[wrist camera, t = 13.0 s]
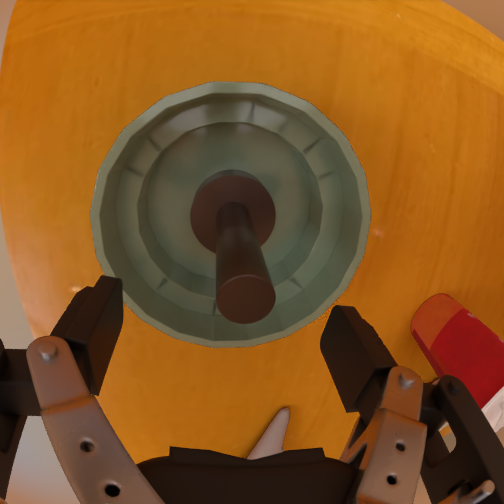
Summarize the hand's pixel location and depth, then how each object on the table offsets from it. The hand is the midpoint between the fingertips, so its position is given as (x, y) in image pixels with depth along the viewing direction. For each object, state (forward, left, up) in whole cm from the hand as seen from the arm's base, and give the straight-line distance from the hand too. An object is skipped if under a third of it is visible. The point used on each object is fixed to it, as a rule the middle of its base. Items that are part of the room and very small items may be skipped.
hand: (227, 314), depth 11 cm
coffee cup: (+21, +12, -12) cm, 27 cm away
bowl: (-1, +1, -11) cm, 11 cm away
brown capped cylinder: (0, +1, -11) cm, 11 cm away
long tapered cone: (+27, -15, -12) cm, 33 cm away
